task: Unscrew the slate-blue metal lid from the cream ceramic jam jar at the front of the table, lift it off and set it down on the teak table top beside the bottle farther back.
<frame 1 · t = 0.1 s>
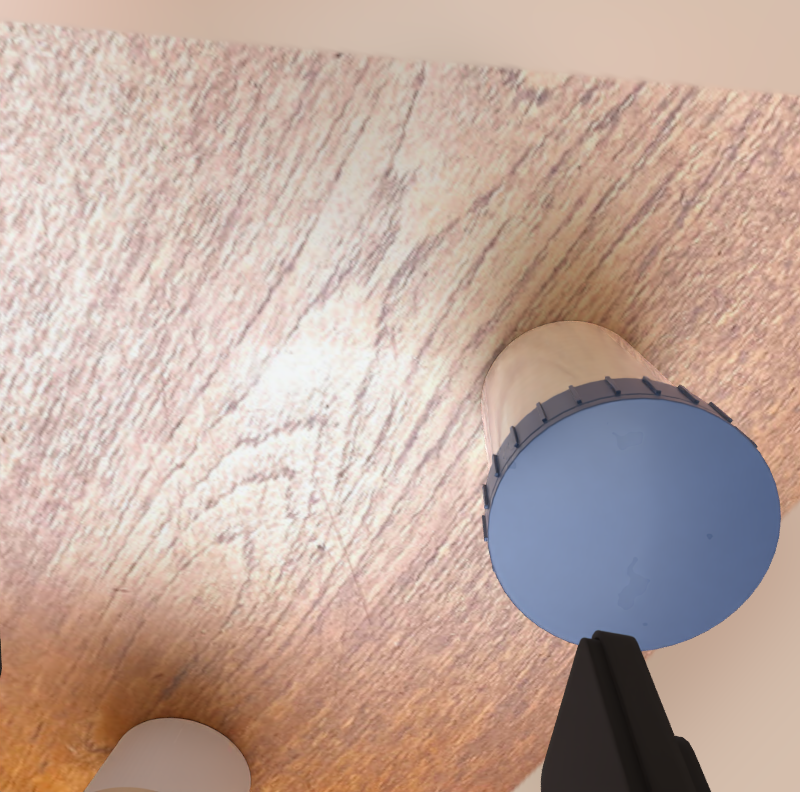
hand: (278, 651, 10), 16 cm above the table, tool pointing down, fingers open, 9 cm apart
jar: (565, 402, 25), on the table
coffee cup: (183, 769, 33), on the table
lid: (628, 527, 16), point 10 cm above the table, screwed on, not yet turned
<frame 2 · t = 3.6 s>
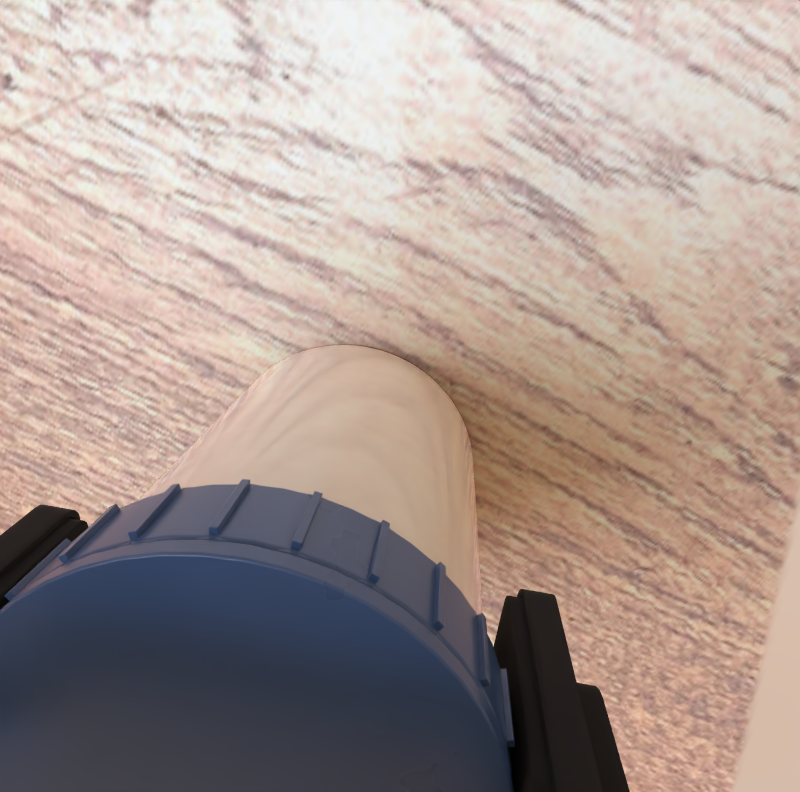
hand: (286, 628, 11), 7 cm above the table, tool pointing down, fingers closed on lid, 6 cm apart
jar: (348, 464, 17), on the table
lid: (229, 786, 8), point 10 cm above the table, screwed on, not yet turned, touching gripper
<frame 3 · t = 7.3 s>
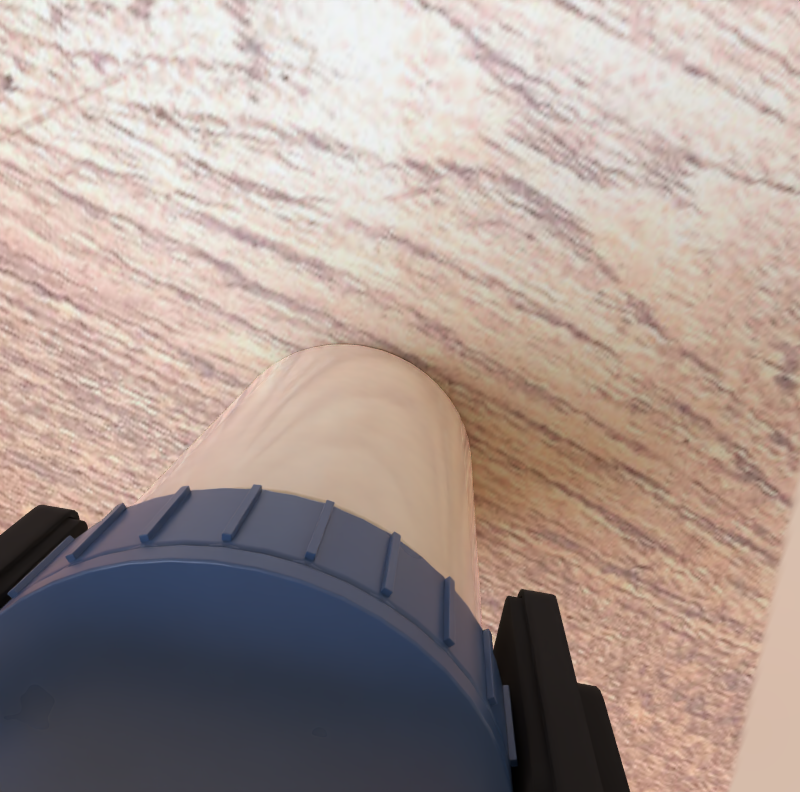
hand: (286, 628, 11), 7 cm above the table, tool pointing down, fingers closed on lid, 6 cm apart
jar: (347, 463, 17), on the table
when the fingers open (0 cm above the table, at t = 22.1 s): lid stays where it is, point 1 cm above the table.
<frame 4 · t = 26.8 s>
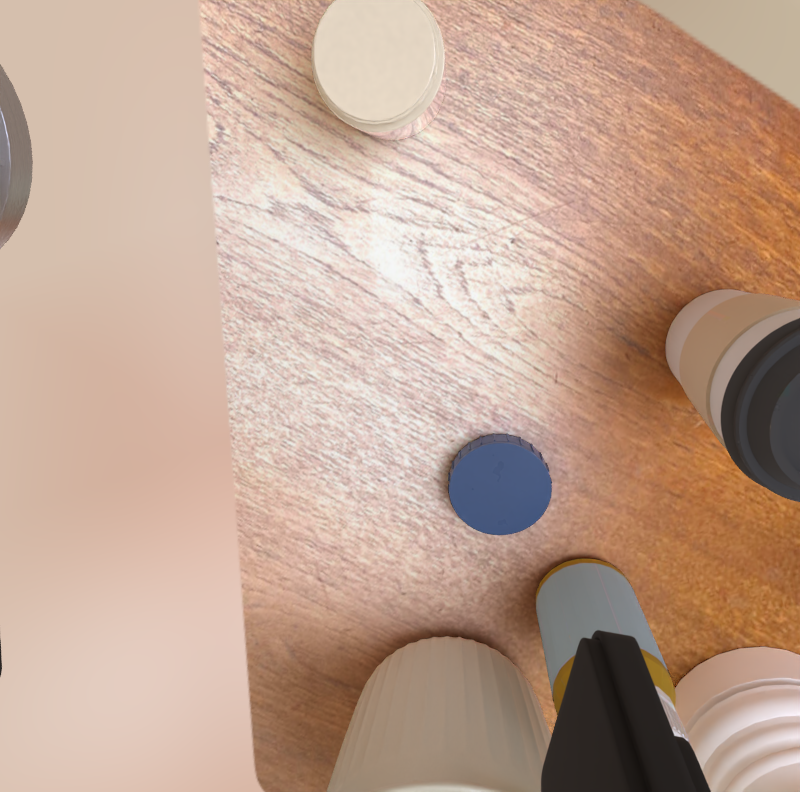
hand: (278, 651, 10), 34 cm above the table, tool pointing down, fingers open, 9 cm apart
bottle: (581, 593, 49), on the table
jar: (392, 82, 39), on the table
canister: (448, 692, 53), on the table
coffee cup: (718, 342, 43), on the table
honey pot: (749, 714, 51), on the table
lid: (499, 488, 45), point 1 cm above the table, off its thread
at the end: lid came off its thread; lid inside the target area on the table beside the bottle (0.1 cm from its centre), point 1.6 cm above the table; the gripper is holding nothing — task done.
